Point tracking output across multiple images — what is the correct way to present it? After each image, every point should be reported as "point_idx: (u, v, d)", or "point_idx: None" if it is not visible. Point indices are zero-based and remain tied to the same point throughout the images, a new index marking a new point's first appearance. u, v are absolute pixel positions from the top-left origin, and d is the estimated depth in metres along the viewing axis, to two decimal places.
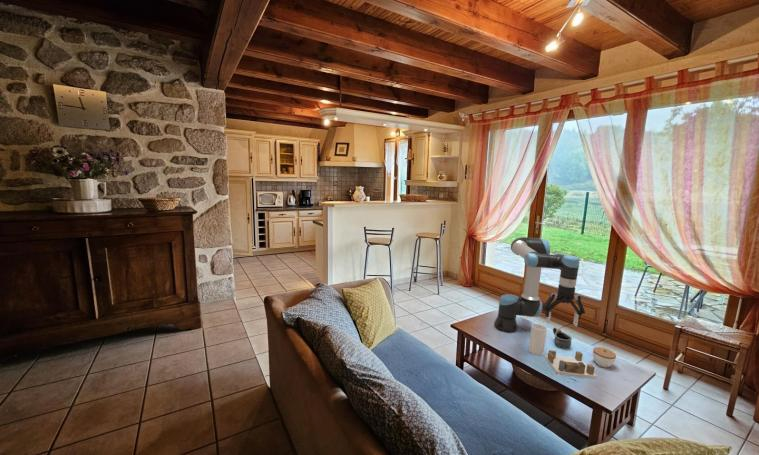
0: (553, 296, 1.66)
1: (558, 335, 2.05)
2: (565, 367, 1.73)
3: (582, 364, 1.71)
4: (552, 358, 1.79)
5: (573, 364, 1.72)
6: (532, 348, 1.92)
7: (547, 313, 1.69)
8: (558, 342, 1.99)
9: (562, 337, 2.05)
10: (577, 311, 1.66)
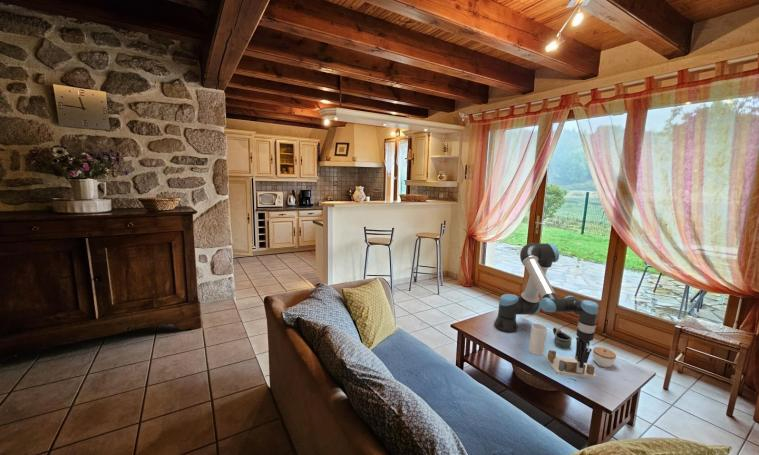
0: None
1: (558, 335, 2.05)
2: (565, 367, 1.73)
3: None
4: (552, 358, 1.79)
5: (573, 364, 1.72)
6: (532, 348, 1.92)
7: None
8: (558, 342, 1.99)
9: (562, 337, 2.05)
10: None
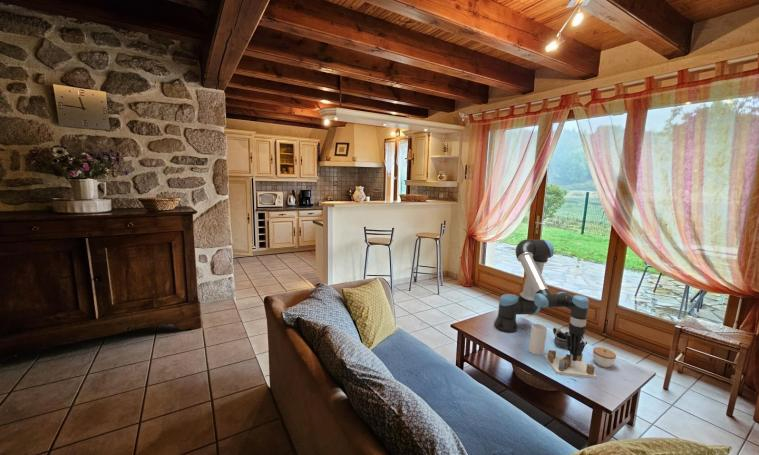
0: None
1: (558, 335, 2.05)
2: None
3: None
4: (552, 358, 1.79)
5: (567, 359, 1.76)
6: (532, 348, 1.92)
7: None
8: (558, 342, 1.99)
9: (562, 337, 2.05)
10: None
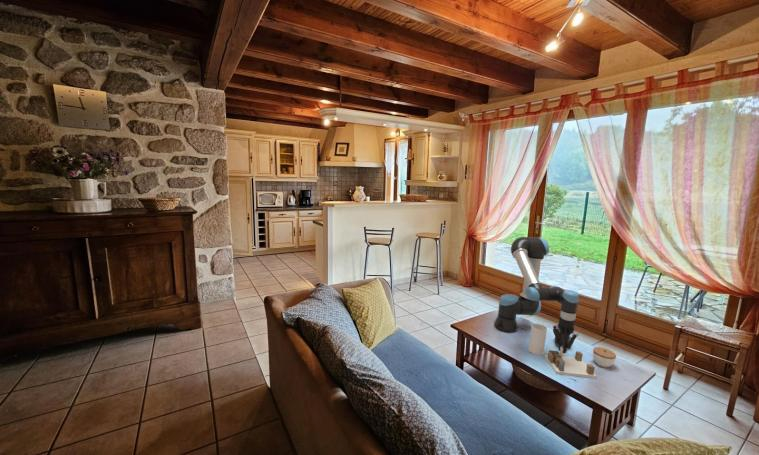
0: None
1: None
2: None
3: (556, 352, 1.82)
4: (552, 358, 1.79)
5: (559, 357, 1.78)
6: (532, 348, 1.92)
7: None
8: None
9: None
10: (563, 341, 1.81)
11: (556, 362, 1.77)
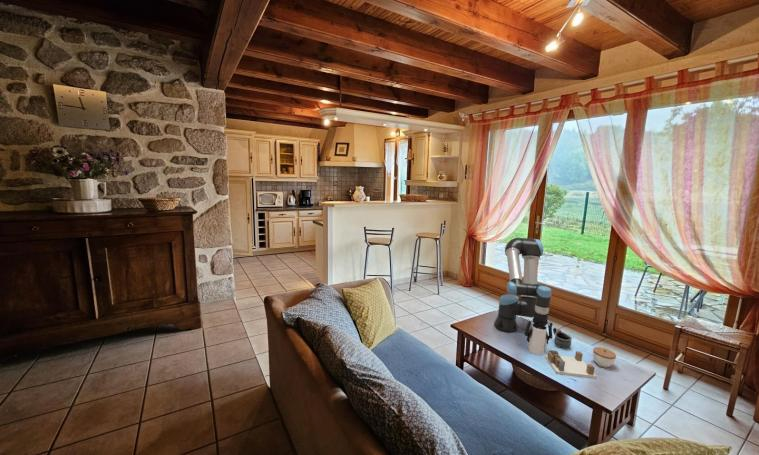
0: (529, 323, 1.91)
1: (558, 335, 2.05)
2: None
3: (555, 351, 1.83)
4: (552, 358, 1.79)
5: (558, 357, 1.78)
6: (532, 348, 1.92)
7: (528, 339, 1.94)
8: (558, 342, 1.99)
9: (562, 337, 2.05)
10: (546, 336, 1.91)
11: (556, 362, 1.77)
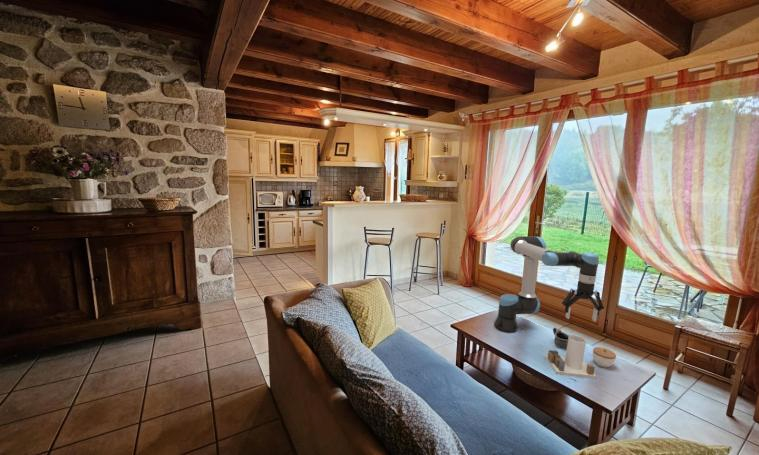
0: (573, 292, 1.72)
1: (558, 335, 2.05)
2: None
3: (555, 351, 1.83)
4: (552, 358, 1.79)
5: (558, 357, 1.78)
6: (569, 362, 1.76)
7: (567, 309, 1.74)
8: (558, 342, 1.99)
9: (562, 337, 2.05)
10: (596, 307, 1.71)
11: (556, 362, 1.77)
